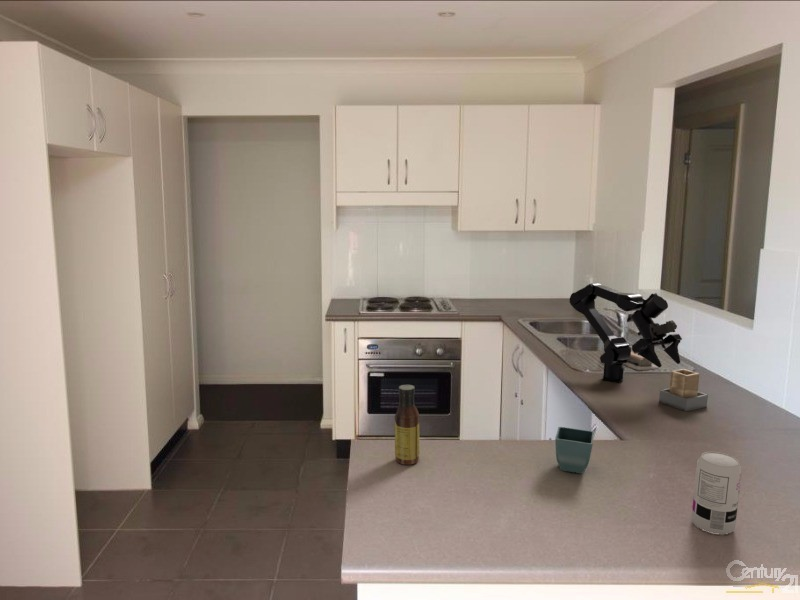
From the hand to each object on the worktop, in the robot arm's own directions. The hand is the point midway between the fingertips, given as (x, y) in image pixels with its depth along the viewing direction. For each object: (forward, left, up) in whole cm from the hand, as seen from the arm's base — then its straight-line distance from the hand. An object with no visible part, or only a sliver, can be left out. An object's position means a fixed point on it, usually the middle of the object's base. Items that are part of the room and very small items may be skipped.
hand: (670, 365), depth 209 cm
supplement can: (+17, -83, -12) cm, 85 cm away
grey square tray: (+5, -3, -12) cm, 13 cm away
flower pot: (-15, -70, -12) cm, 72 cm away
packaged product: (-17, +40, -12) cm, 45 cm away
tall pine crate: (+5, -3, -11) cm, 12 cm away
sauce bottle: (-53, -87, -12) cm, 102 cm away
